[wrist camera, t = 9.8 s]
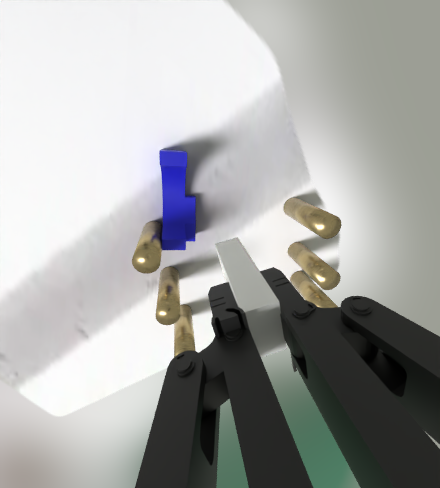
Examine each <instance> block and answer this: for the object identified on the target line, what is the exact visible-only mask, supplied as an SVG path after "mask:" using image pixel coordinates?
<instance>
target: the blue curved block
mask: <svg viewBox="0 0 440 488" xmlns="http://www.w3.org/2000/svg"><path fill="white" fill-rule="evenodd" d="M160 166H161V172H162V189H163V232H162V250H186V241H195V230H196V217H195V202H196V198H195V196H186V195H185V176H186V167H187V152H186V151H179V150H165V149H162V150H160Z"/></svg>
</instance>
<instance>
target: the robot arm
mask: <svg viewBox="0 0 440 488" xmlns="http://www.w3.org/2000/svg"><path fill="white" fill-rule="evenodd" d="M215 246H216V249H217V253H218V257H219V260H220V264H221V267H222V271H223V275H224V278H225V281H226V283H223V284H220V285H217V286H214V287H211V288H210V291H209V293H208V296H209V301H210V305H211V310H212V314H213V317H212V323H211V324H212V327H213V330H214V333H215V338H214V340H213V342H212V343H211V344H210V345H209V346H208V347H207V348H205V349H204V350H202V351H201V352H199V353H198V352H196V351H192V350H187V351H184V352H181V353H180V354H178V355H176V356H175V357H174V358H173V359H172V361H171V362H170V364H169V366H168V368H167V372H166V376H165V379H164V383H163V387H162V390H161V394H160V398H159V401H158V405H157V409H156V412H155V416H154V420H153V424H152V427H151V431H150V434H149V438H148V442H147V445H146V449H145V453H144V457H143V460H142V464H141V468H140V471H139V475H138V479H137V482H136V486H135V488H216V481H217V460H218V440H219V418H220V405H222V404H223V403H224V402H226V401H227V400H228V399H229V398H230V402H231V406H232V411H233V416H234V420H235V425H236V430H237V434H238V439H239V444H240V447H241V453H242V457H243V462H244V467H245V471H246V476H247V480H248V485H249V488H313V486H312V484H311V481H310V479H309V476H308V474H307V471H306V469H305V466H304V464H303V461H302V459H301V456H300V454H299V451H298V449H297V446H296V444H295V441H294V439H293V436H292V434H291V432H290V429H289V426H288V424H287V422H286V419H285V416H284V414H283V411H282V409H281V407H280V404H279V402H278V399H277V397H276V394H275V392H274V389H273V387H272V384H271V382H270V379H269V377H268V374H267V372H266V369H265V367H264V365H263V362H262V359H261V357H264V356H267V355H270V354H273V353H276V352H279V351H282V350H285V349H287V348H286V343H287V345H288V347H289V348H290V351H291V358H292V364H293V369H294V372H295V371H297V370H296V368H297V369H298V371H299V373H300V375H301V377H302V379H303V381H304V383H305V384H306V386H307V388H308V390H309V392H310V394H311V396H312V397H313V399H314V401H315V403H316V405H317V407H318V409H319V411H320V413H321V414H322V416H323V418H324V420H325V422H326V424H327V426H328V427H329V429H330V431H331V433H332V435H333V437H334V439H335V440H336V442H337V444H338V446H339V448H340V450H341V452H342V454H343V456H344V457H345V459H346V461H347V463H348V465H349V467H350V469H351V471H352V472H353V474H354V476H355V478H356V480H357V482H358V484H359V486H360V487H361V488H440V449H439V448H438V447H437V445H436V444H435V443H434V442H433V441H432V440H431V439H430V437H429V436H428V435H427V434H426V433H428V434H429V435H430V436H431V437H432V438H433V439H434V440H436V441H437V442H438V443H439V444H440V337H439V336H438V335H436V334H434V333H432V332H430V331H428V330H427V329H425V328H423V327H421V326H419V325H418V324H416V323H414V322H412V321H410V320H409V319H406V318H405V317H403V316H401V315H399V314H398V313H396V312H394V311H392V310H390V309H389V308H386V307H385V306H383V305H381V304H379V303H378V302H376V301H374V300H372V299H369V298H367V297H362V296H351V297H348V298H345V300H343V301H342V303H341V307H335V308H320V307H317V306H316V305H315V304H314V303H312V302H309V301H307V300H304V299H303V297H302V296H301V295H300V294H299V292H298V291H297V290H296V289H295V288H294V286H293V285H292V284H291V283H290V281H289V280H288V279H287V278H286V276H285V275H284V274H283V273H282V272H281V271H280V270H278V269H276V268H274V267H273V268H270V269H267V270H263V271H259V270H258V268H257V267H256V265H255V263H254V262H253V260H252V259H251V257H250V256H249V254H248V253H247V251H246V250H245V248H244V247H243V245H242V244H241V242H240V240H239V239H238V237H237V238H234V239H230V240H227V241H223V242H220V243H217V244H215ZM285 341H286V342H285ZM425 432H426V433H425Z"/></svg>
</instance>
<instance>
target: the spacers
mask: <svg viewBox="0 0 440 488" xmlns="http://www.w3.org/2000/svg"><path fill="white" fill-rule="evenodd" d="M284 212H285V214H286V215H288V216H290V217H291V218H293V219H294V220H296V221H297V222H299V223H300V224H302V225H303V226H305V227H307V228H308V229H310V230H311V231H313V232H314V233H316V234H317V235H319V236H320V237H322V238H324V239H330V238H332V237H334V236H335V235H337V233H338V232H339V231H340V228H341V220H340V219H339V218H338V217H337V216H335V215H333V214H330V213H328V212H326V211H324V210H322V209H320V208H317V207H315V206H313V205H311V204H309V203H306V202H304V201H302V200H300V199H298V198H290V199H288V200H287V201H286V202H285V204H284ZM162 232H163V226H162V225H161V224H160V223H158V222H155V221H151V222H148V223H147V224H146V225H145V226H144V228H143V231H142V234H141V236H140V239H139V242H138V245H137V247H136V250H135V253H134V256H133V259H132V264H133V266H134V268H135V269H136V270H137V271H139V272H141V273H152V272H154V271H156V270H157V269H158V268H159V266H160V261H161V252H162ZM288 255H289V256H290V257H291V258H292V259H293V260H294V261H295V262H296V263H297V264H298V265H299V266H300V267H301V268H302V269H303V270H304V271H305V272H306V273H307V274H308V275H309V276H310V277H311V278H312V279H313V280H314V281H315V282H316V283H317V284H318V285H319V286H320V287H321V288H322V289H324V290H330V289H333V288H334V287H336V286H337V285H338V283H339V281H340V274H339V273H338V272H337V271H335V270H334V269H333V268H332V267H330V266H329V265H328V264H327V263H325V262H324V261H323V260H322V259H320V258H319V257H318V256H317V255H315V254H314V253H313V252H311V251H310V250H309V249H308V248H306V247H305V246H304V245H303V244H301V243H299V242H296V243H293V244H292V245H290V247H289V248H288ZM290 281H291V283H292V284H293V285H294V287H295V288H296V289H297V290H298V291H299V293H300V294H301V295H302V296H303V298H304V299H305V300H307V301H309V302H312V303H314V304H315V305H316V306H317V307H320V308H335V307H338V306H337V305H336V304H335V303H334V302H333V301H332V300H331V299H330V298H329V297H327V295H326V294H325V293H324V292H323V291H322V290H320V288H319V287H318V286H317V285H316V284H315V283H314V282H313V281H312V280H311V279H310V278H309V277H308V276H307V275H306V274H305V273H304V272H302V271H297V272H295V273H294V274H293V275H292V276H291V279H290ZM156 319H157V321H158V322H159V323H161V324H163V325H171V324H174V357H175V356H176V355H178V354H180V353H181V352H184V351H187V350H192V351H195V342H194V332H193V322H192V312H191V308H190V307H189V306H187V305H180V294H179V272H178V270H177V269H175V268H174V267H166V268H164V269H163V270H162V271H161V273H160V281H159V291H158V300H157V309H156Z"/></svg>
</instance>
